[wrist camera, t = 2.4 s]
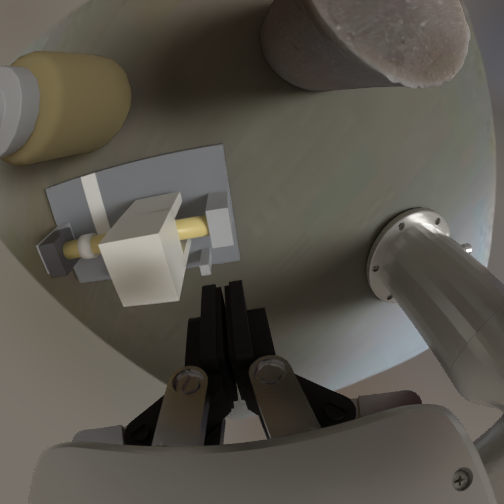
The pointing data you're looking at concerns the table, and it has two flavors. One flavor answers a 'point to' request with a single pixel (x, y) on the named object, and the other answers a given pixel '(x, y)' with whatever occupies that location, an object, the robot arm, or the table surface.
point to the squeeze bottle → (60, 105)
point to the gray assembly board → (134, 188)
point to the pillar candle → (365, 42)
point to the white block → (147, 252)
